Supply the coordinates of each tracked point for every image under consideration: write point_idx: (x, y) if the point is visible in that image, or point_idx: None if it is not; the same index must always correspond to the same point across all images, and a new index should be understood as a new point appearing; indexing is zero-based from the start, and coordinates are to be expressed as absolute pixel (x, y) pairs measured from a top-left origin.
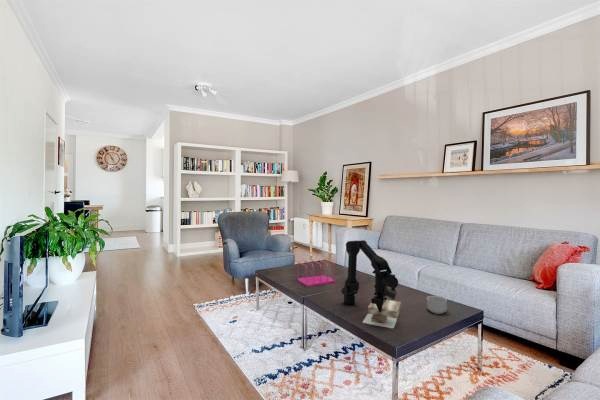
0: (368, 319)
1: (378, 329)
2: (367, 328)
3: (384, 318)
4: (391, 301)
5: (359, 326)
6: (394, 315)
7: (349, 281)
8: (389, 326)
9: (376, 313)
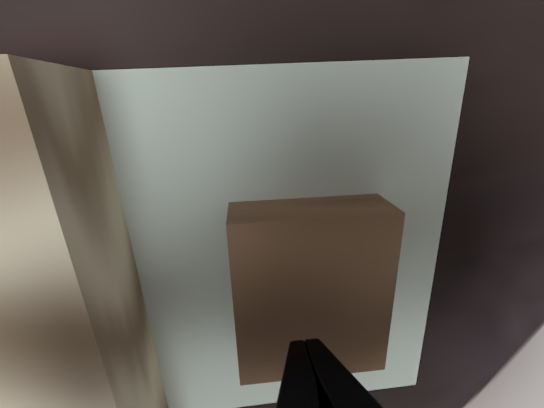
0: None
1: (521, 218)
2: (518, 310)
3: (357, 227)
4: None
5: (491, 373)
6: (81, 118)
7: None
8: (434, 120)
9: (147, 355)
